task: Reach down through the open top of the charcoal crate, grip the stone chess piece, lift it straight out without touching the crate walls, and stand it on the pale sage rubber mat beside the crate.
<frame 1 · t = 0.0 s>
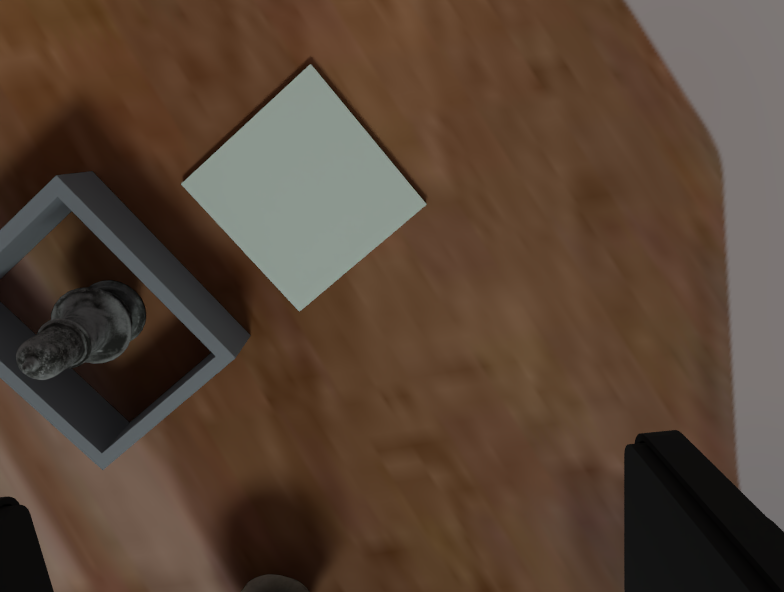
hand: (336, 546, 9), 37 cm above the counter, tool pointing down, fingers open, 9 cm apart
crate: (112, 312, 47), on the counter
stone chess piece: (113, 311, 47), resting in crate
mat: (305, 193, 45), on the counter
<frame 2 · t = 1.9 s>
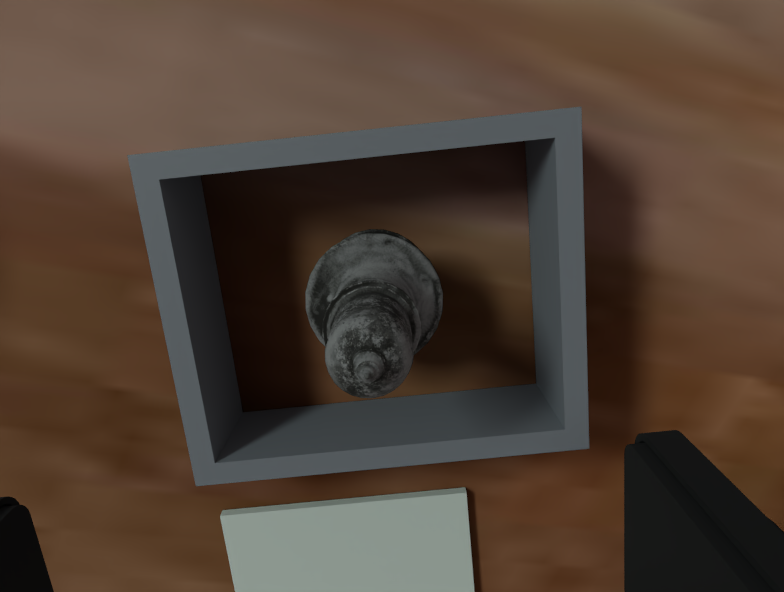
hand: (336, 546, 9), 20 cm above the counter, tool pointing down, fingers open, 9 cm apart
crate: (375, 283, 28), on the counter
stone chess piece: (376, 282, 29), resting in crate
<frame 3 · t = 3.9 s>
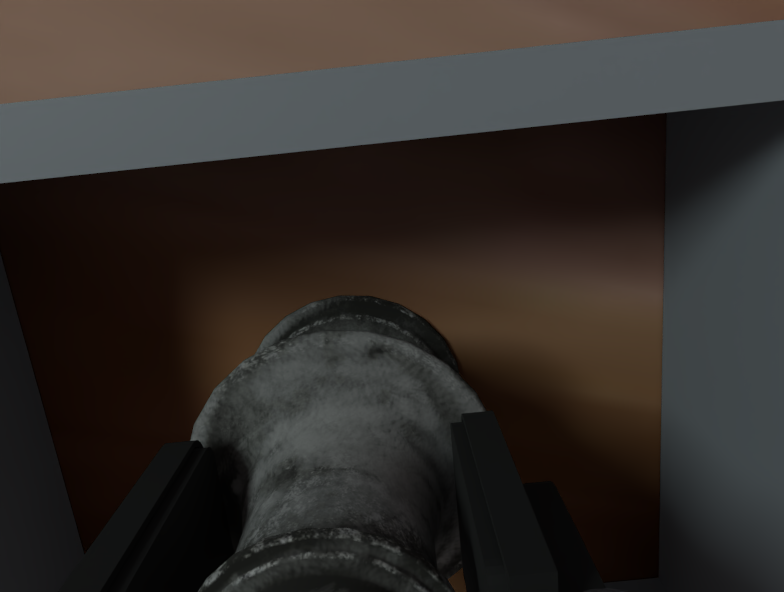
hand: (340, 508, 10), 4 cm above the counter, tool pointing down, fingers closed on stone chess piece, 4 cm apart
crate: (354, 400, 14), on the counter
stone chess piece: (354, 396, 15), resting in crate, touching gripper
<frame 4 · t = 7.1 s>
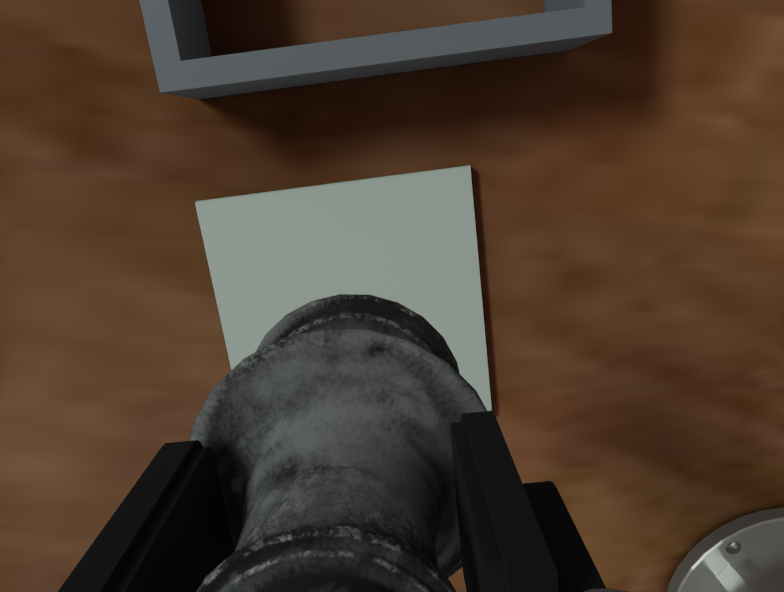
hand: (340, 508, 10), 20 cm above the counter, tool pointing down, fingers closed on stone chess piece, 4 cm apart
stone chess piece: (354, 395, 14), point 15 cm above the counter, touching gripper
mat: (352, 312, 30), on the counter
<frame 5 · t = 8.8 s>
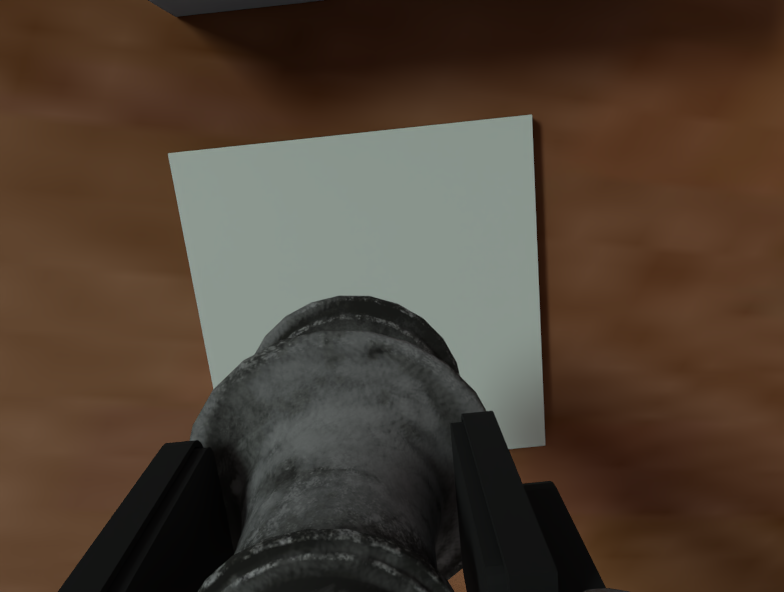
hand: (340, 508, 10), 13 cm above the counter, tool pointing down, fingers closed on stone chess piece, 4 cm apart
stone chess piece: (354, 396, 14), point 9 cm above the counter, touching gripper
mat: (369, 305, 23), on the counter
when the fingers open (6 cm above the counter, at t = 10.4 s): stone chess piece drops 1 cm, resting on mat.
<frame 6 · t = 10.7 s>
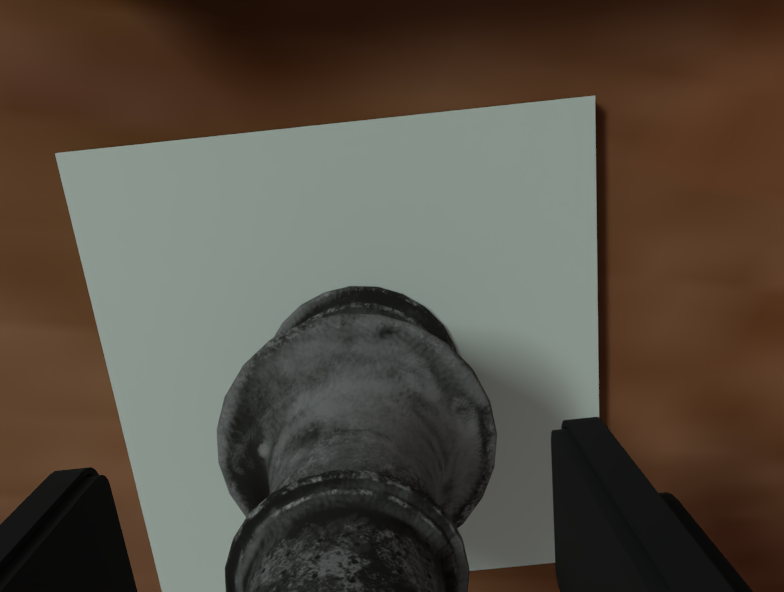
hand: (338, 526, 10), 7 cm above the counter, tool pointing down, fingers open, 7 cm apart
stone chess piece: (362, 378, 16), resting on mat
mat: (356, 369, 16), on the counter
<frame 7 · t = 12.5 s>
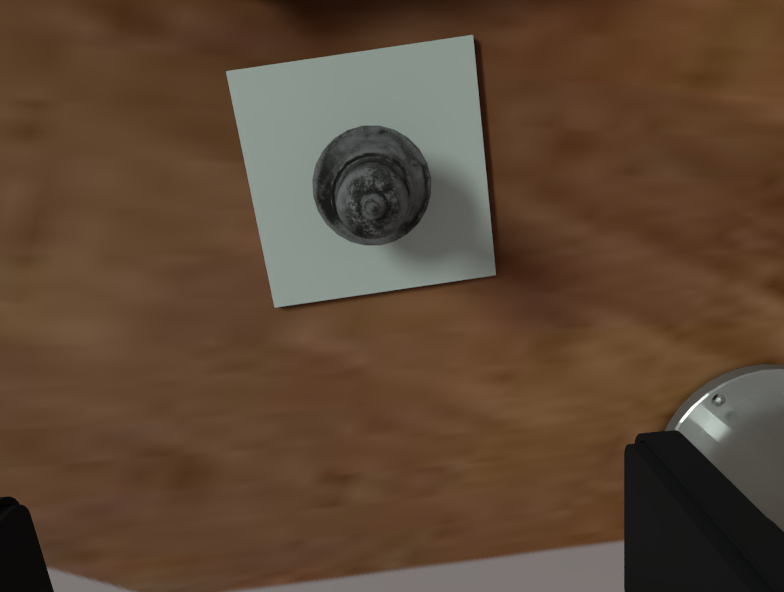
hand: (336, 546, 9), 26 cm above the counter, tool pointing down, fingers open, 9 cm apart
stone chess piece: (371, 180, 33), resting on mat
mat: (368, 178, 33), on the counter
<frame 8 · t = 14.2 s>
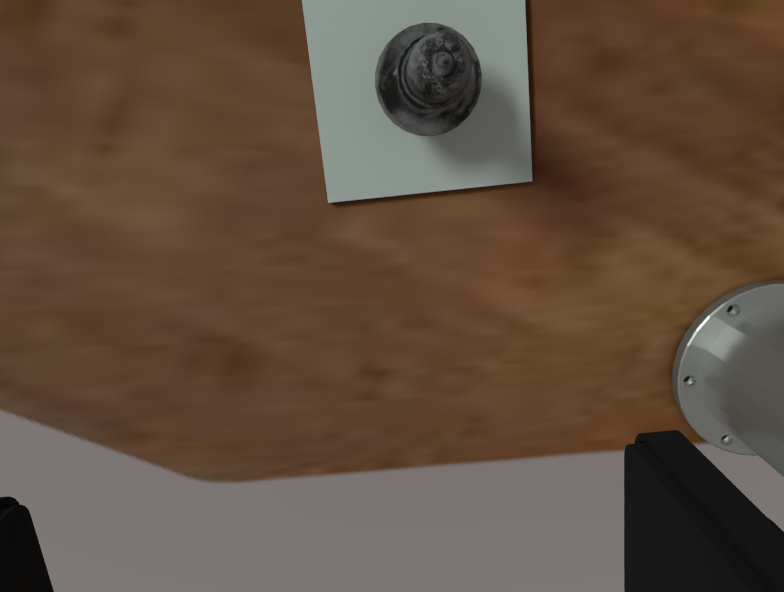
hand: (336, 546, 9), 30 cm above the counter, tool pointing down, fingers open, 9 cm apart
stone chess piece: (423, 86, 36), resting on mat
mat: (420, 84, 36), on the counter
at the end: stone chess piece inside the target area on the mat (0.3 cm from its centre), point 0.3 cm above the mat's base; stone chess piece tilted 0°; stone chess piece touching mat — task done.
